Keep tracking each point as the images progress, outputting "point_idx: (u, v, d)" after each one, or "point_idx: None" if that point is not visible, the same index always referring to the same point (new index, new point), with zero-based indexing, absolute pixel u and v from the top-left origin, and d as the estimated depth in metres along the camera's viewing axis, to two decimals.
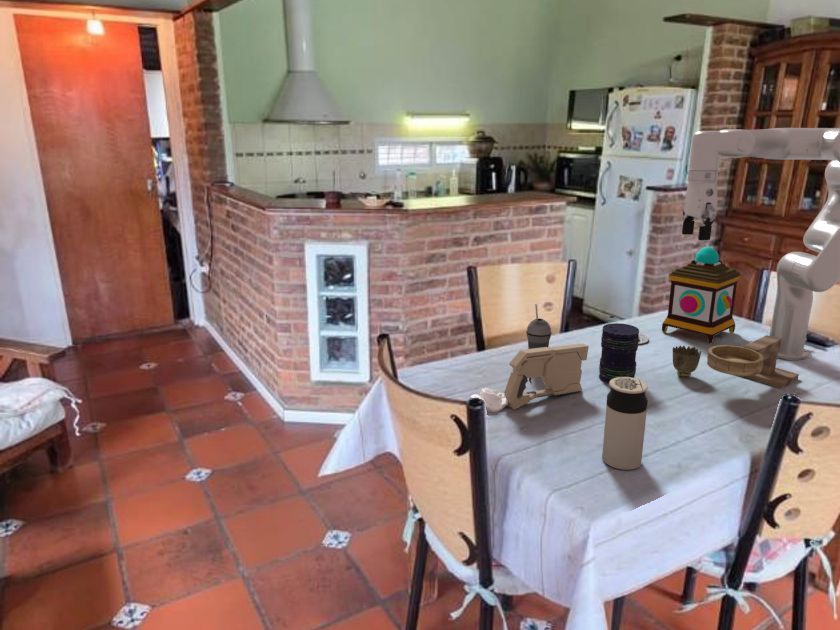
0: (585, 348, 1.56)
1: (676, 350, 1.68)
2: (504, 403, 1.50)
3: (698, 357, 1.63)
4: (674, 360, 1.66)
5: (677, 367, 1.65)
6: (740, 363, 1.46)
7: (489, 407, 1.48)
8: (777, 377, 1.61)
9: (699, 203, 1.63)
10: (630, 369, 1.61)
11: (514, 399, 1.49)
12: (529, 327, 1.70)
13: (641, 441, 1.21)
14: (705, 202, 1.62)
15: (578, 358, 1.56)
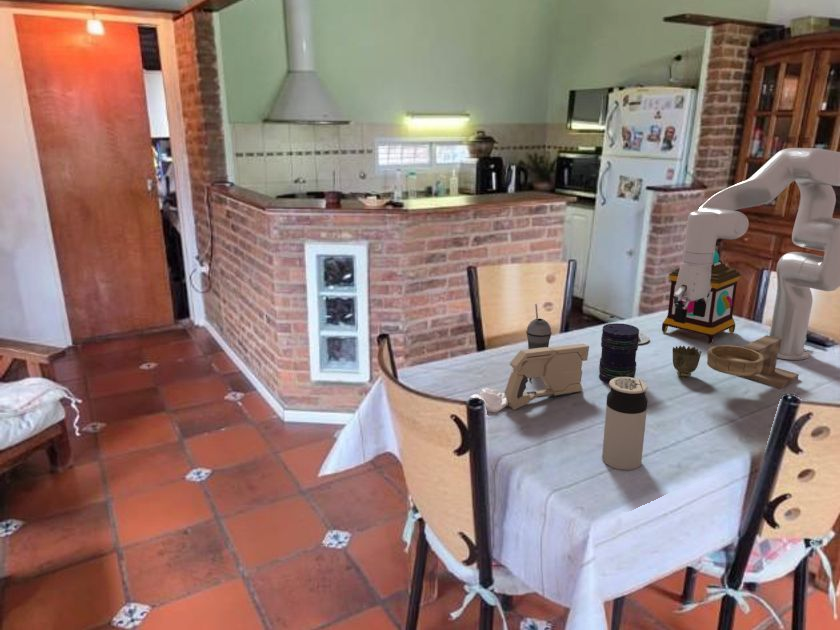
0: (586, 348, 1.56)
1: (676, 350, 1.68)
2: (504, 403, 1.50)
3: (698, 357, 1.63)
4: (674, 360, 1.66)
5: (677, 367, 1.65)
6: (740, 363, 1.46)
7: (489, 407, 1.48)
8: (777, 377, 1.61)
9: (709, 282, 1.60)
10: (630, 369, 1.61)
11: (514, 399, 1.49)
12: (529, 327, 1.70)
13: (641, 441, 1.21)
14: None
15: (579, 358, 1.56)
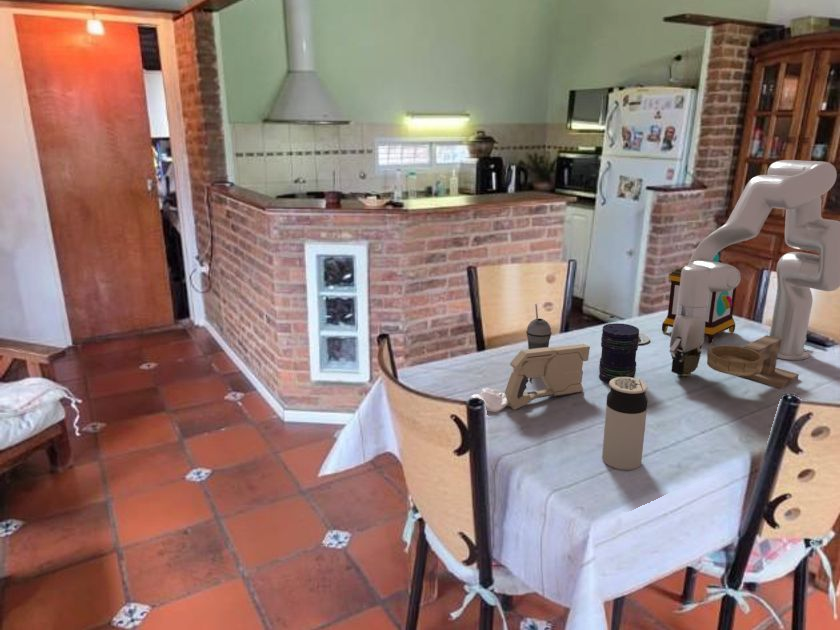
0: (586, 349, 1.56)
1: None
2: (504, 403, 1.50)
3: (698, 357, 1.63)
4: None
5: None
6: (740, 363, 1.46)
7: (489, 407, 1.48)
8: (777, 377, 1.61)
9: (704, 332, 1.64)
10: (630, 369, 1.61)
11: (514, 399, 1.49)
12: (529, 327, 1.70)
13: (641, 441, 1.21)
14: None
15: (579, 358, 1.55)
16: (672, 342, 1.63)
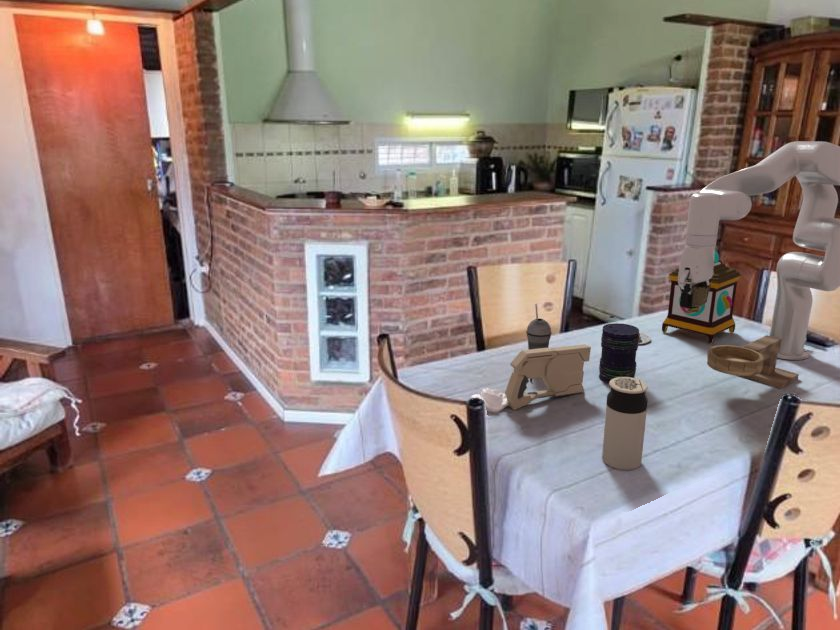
0: (587, 349, 1.55)
1: None
2: (505, 403, 1.50)
3: (707, 289, 1.57)
4: None
5: None
6: (740, 363, 1.46)
7: (489, 407, 1.48)
8: (777, 377, 1.61)
9: (713, 264, 1.58)
10: (630, 369, 1.61)
11: (515, 399, 1.49)
12: (529, 327, 1.70)
13: (641, 441, 1.21)
14: None
15: (580, 359, 1.55)
16: (680, 274, 1.57)
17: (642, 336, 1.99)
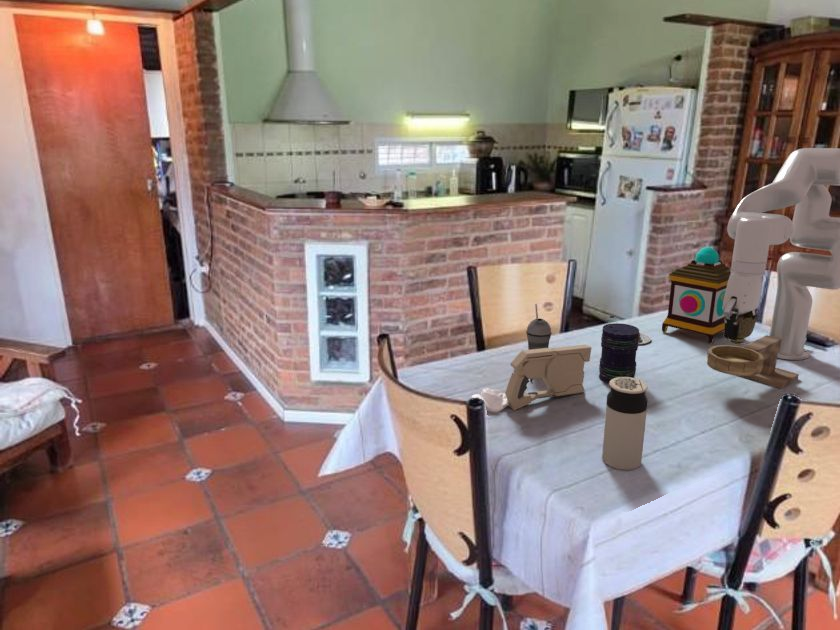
0: (588, 349, 1.55)
1: None
2: (505, 403, 1.50)
3: (754, 320, 1.46)
4: None
5: None
6: (740, 363, 1.46)
7: (489, 407, 1.48)
8: (777, 377, 1.61)
9: (760, 293, 1.48)
10: (630, 369, 1.61)
11: (515, 399, 1.49)
12: (529, 327, 1.70)
13: (641, 441, 1.21)
14: None
15: (581, 359, 1.55)
16: (726, 303, 1.46)
17: (642, 336, 1.99)
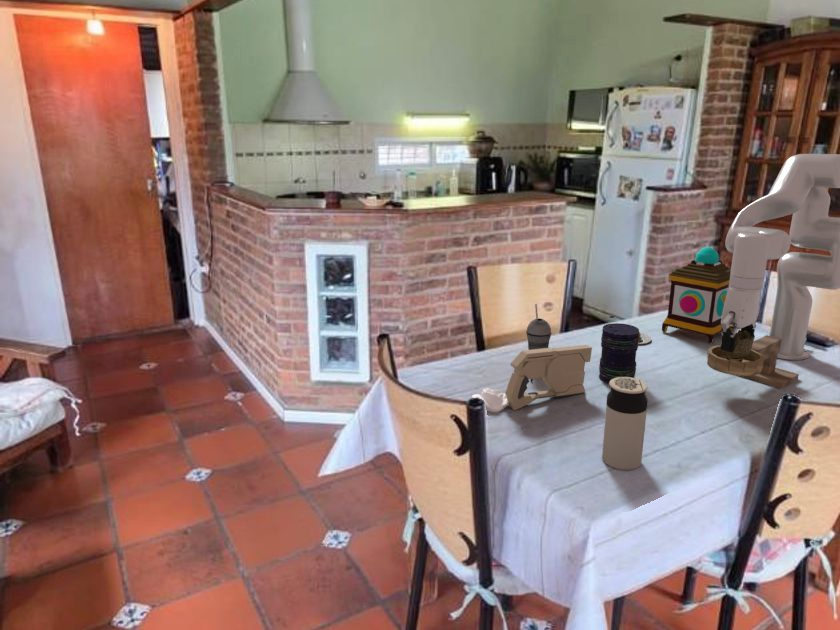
0: (588, 349, 1.55)
1: None
2: (505, 403, 1.50)
3: (751, 341, 1.48)
4: None
5: (728, 352, 1.51)
6: (740, 363, 1.46)
7: (490, 407, 1.48)
8: (777, 377, 1.61)
9: (758, 307, 1.49)
10: (630, 369, 1.61)
11: (515, 400, 1.49)
12: (529, 327, 1.70)
13: (641, 441, 1.21)
14: None
15: (581, 359, 1.55)
16: (724, 318, 1.47)
17: (643, 336, 1.99)
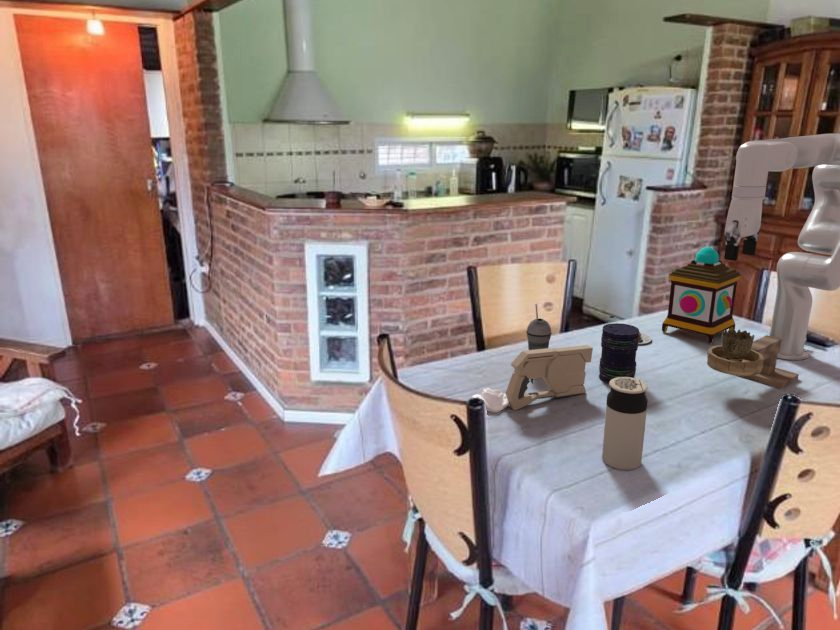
0: (589, 350, 1.55)
1: (725, 334, 1.54)
2: (505, 403, 1.50)
3: (751, 341, 1.48)
4: (724, 345, 1.51)
5: (727, 352, 1.51)
6: (740, 363, 1.46)
7: (490, 407, 1.48)
8: (777, 377, 1.61)
9: (760, 218, 1.56)
10: (630, 369, 1.61)
11: (515, 400, 1.49)
12: (529, 327, 1.70)
13: (641, 441, 1.21)
14: None
15: (582, 360, 1.55)
16: (728, 227, 1.54)
17: (643, 336, 1.99)
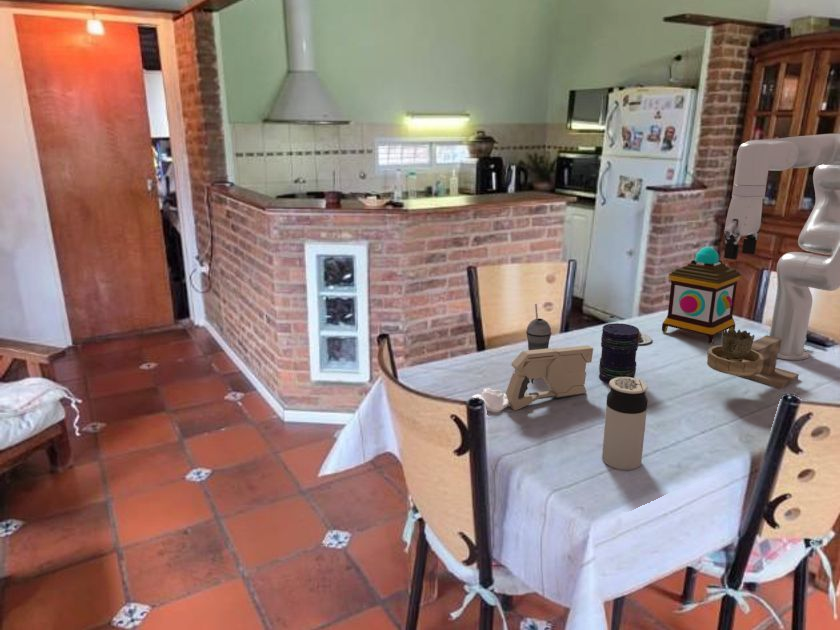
0: (590, 350, 1.55)
1: (725, 334, 1.54)
2: (505, 404, 1.50)
3: (751, 341, 1.48)
4: (724, 345, 1.51)
5: (727, 352, 1.51)
6: (740, 363, 1.46)
7: (490, 407, 1.48)
8: (777, 377, 1.61)
9: (760, 217, 1.56)
10: (630, 369, 1.61)
11: (515, 400, 1.48)
12: (529, 327, 1.70)
13: (641, 441, 1.21)
14: None
15: (582, 360, 1.54)
16: None
17: (643, 336, 1.98)
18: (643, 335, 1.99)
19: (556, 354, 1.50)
